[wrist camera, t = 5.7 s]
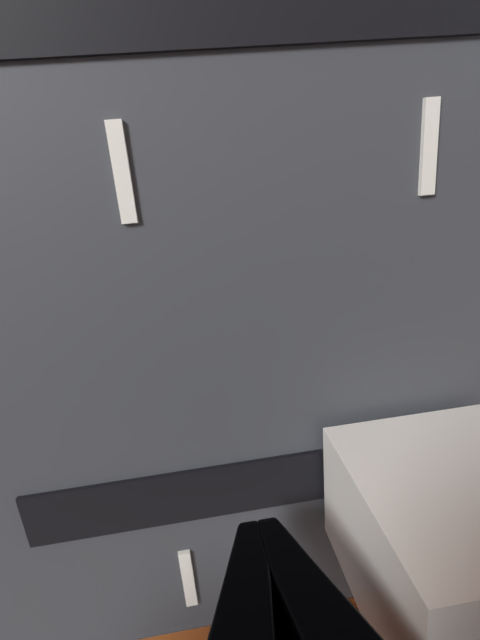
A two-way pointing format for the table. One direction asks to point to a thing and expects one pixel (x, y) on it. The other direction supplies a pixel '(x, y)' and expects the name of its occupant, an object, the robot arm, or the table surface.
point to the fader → (408, 521)
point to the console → (217, 281)
